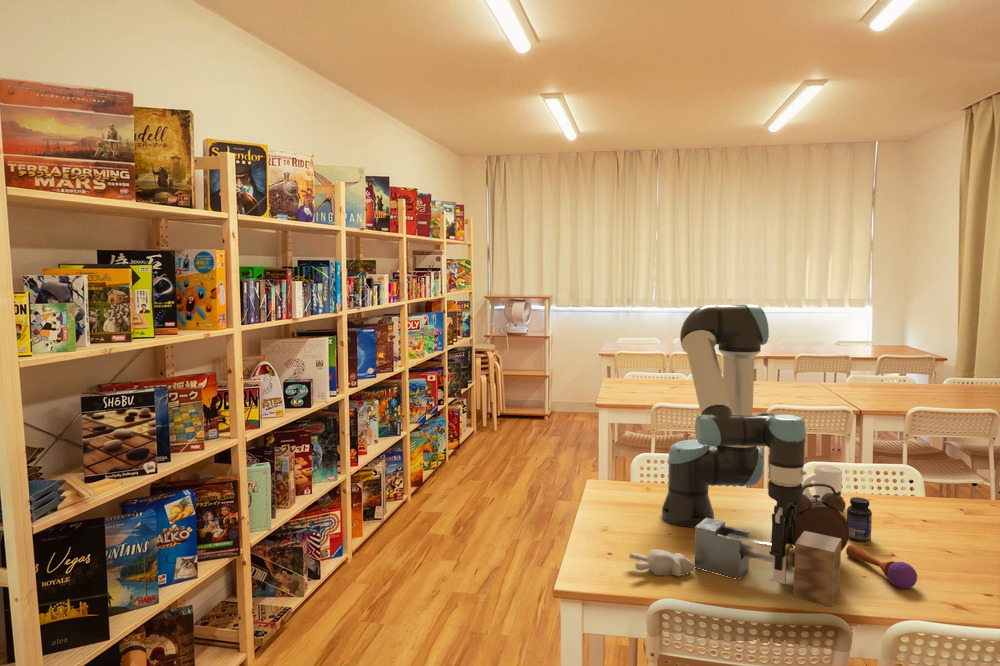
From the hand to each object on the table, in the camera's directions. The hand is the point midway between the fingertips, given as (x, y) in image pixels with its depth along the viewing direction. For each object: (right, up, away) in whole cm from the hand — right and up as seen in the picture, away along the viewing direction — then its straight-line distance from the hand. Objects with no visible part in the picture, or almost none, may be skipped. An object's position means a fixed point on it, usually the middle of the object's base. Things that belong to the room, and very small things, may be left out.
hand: (782, 576), depth 157 cm
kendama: (+26, -2, +6) cm, 27 cm away
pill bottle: (+33, 0, +27) cm, 42 cm away
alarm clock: (+14, -1, +14) cm, 20 cm away
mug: (+35, +3, +53) cm, 63 cm away
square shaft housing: (-12, -1, +9) cm, 15 cm away
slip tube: (-3, +2, +2) cm, 4 cm away
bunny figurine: (-27, -2, +7) cm, 28 cm away
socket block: (+6, -2, -4) cm, 8 cm away
